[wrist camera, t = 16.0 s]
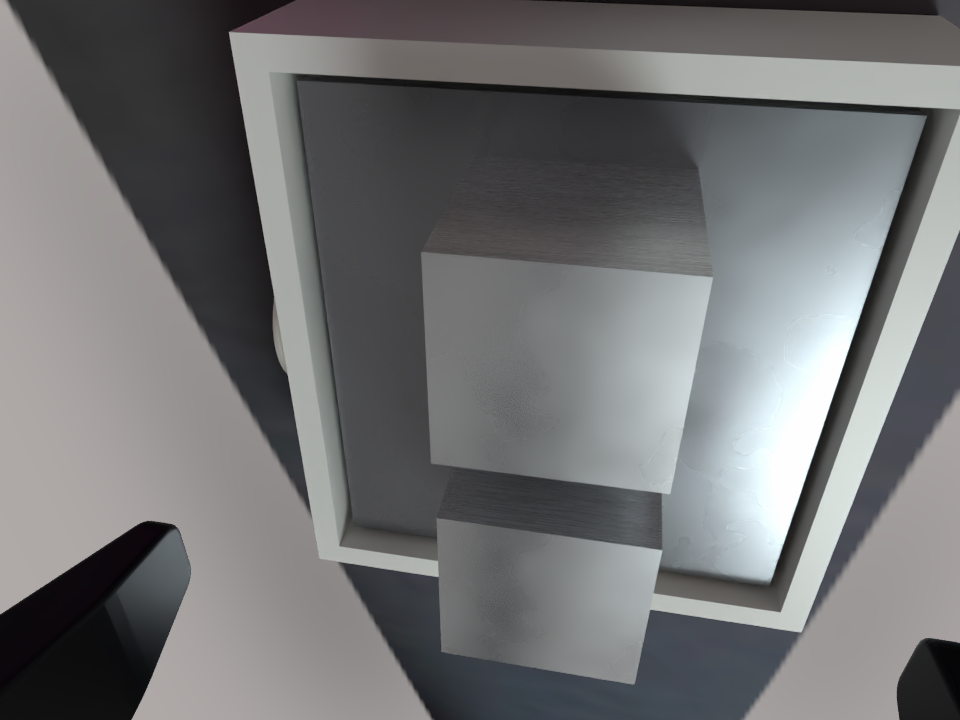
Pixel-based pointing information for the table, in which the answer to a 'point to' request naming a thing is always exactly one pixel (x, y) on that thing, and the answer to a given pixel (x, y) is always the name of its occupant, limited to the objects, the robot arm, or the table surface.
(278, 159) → the base
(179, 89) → the table surface
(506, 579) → the block
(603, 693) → the table surface
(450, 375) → the block
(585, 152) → the pan
